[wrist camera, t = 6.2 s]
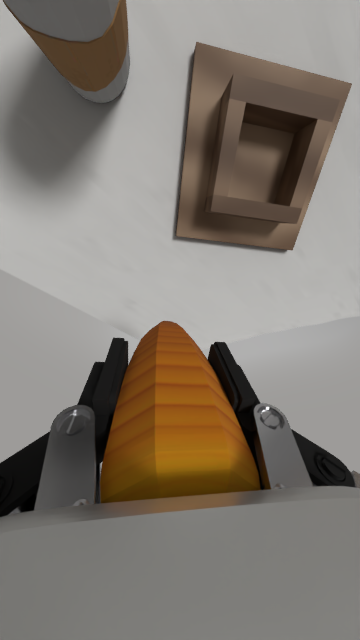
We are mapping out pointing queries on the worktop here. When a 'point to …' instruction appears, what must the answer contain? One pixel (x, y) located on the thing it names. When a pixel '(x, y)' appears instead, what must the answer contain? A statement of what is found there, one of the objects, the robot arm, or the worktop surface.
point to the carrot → (173, 427)
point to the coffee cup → (81, 41)
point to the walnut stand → (253, 147)
